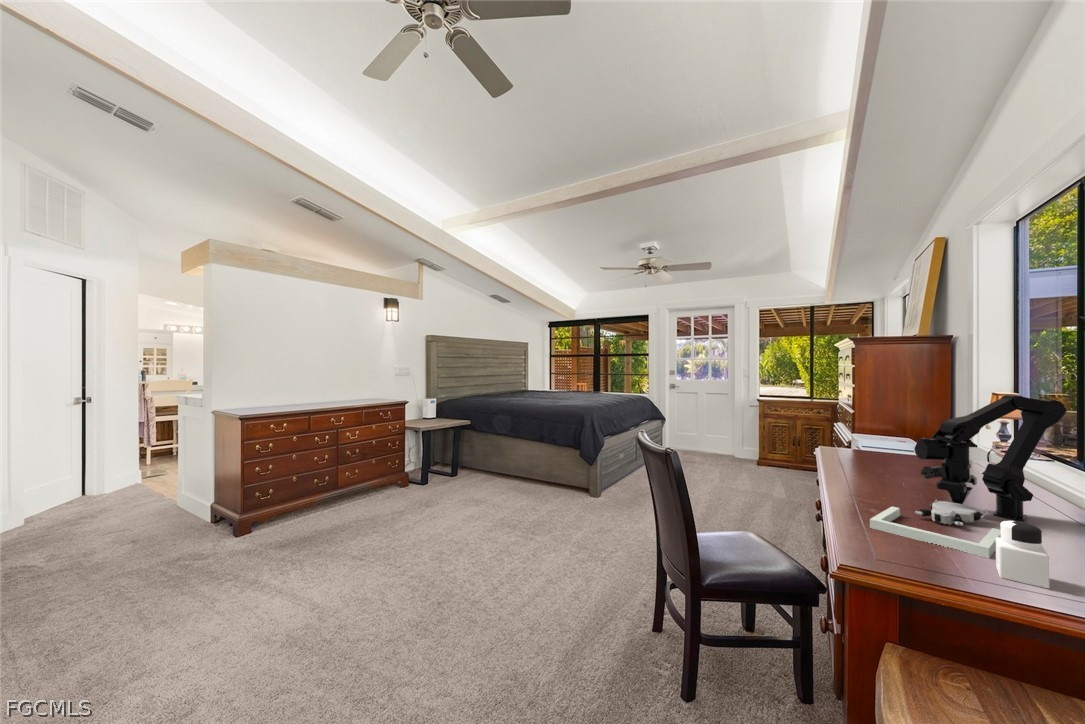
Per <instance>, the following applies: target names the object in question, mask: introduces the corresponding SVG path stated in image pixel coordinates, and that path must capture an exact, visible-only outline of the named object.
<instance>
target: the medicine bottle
mask: <svg viewBox="0 0 1085 724" xmlns="http://www.w3.org/2000/svg"><path fill="white" fill-rule="evenodd" d="M1000 530H1001V538H1000V537H996V550H995V567H996V570H997V572H998V576H999V577H1000V578H1001V579H1005V580H1009V581H1014V582H1018V583H1021V584H1022V583H1023V584H1026V585H1031V586H1034V587H1039V588H1044V589H1046V590H1047V589H1050V556H1049V554H1048V553H1047V552H1046V550H1045V548H1044V547H1043V539H1042V538H1043V537H1042V529H1041V528H1039V527H1037V526H1036V525H1034V524H1032V523H1031V524H1030V523H1027V522H1024V521H1019V520H1018V521H1017V520H1003V521H1001V522H1000Z"/></svg>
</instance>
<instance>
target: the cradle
mask: <svg viewBox="0 0 1085 724" xmlns="http://www.w3.org/2000/svg"><path fill="white" fill-rule="evenodd" d="M900 517H901V508H900V507H896V506H889V507H888V508H887V509H885V510H882V511H881V512H880V513H878V514H876V515H874V516H873V517H871V518H869V528H870V529H873V530H878V531H882V532H886V533H888V534H893V535H897V536H901V537H904V538H909V539H912V540H916V541H920V542H923V541H924V543H927V542H928V544H931V543H933V544H932V545H935V544H937V545H936V546H939V545H941V546H940V547H943V546H944V547H943V548H947V547H949V548H948V549H950V548H953V549H952V550H954V549H957V550H956V551H958V550H960V551H959V552H962V551H963V553H966V552H967V554H970V555H974V556H979V557H981V558H982V557H983V558H986V559H990V558H991V556H992V555H993V554H994V553H995V552H996V537H1000V538H1001V529H999V528H994V527H992V528H991V529H990V530H989V531H988V532H987V533H986V535H985V536H984V537H983V538H982V539H981V540H980V542H975V541H969V540H966V539H961V538H957V537H954V536H949V535H945V534H942V533H937V532H933V531H928V530H924V529H920V528H918V527H911V526H909V525H908V526H907V525H904V524H899V523H896V522H893V521H895V520H896V519H898V518H900Z"/></svg>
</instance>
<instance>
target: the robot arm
mask: <svg viewBox="0 0 1085 724" xmlns="http://www.w3.org/2000/svg"><path fill="white" fill-rule="evenodd" d="M1016 410H1017V411H1021V412H1020V415H1021V419H1022V422H1021V425H1020V427H1019V429H1018V431H1017V432H1016V435H1014V436H1013V437H1014V438H1013V439H1012V441H1011V443H1010V445H1009V446H1008V448H1007V449H1006V452H1005V453H1004V455H1003V457H1002V459H1001V460H1000V461H999V462H998V463H995V464H994V463H988V464H987V465H986V468H985V470H984V471H983V472H982V473H981V475H983V476H982V479H981V480H982V482H983V484H984V485H985V486H986V489H987V490H988V492H989V493H991V494H995V505H996V506H995V508H996V509H995V510H994V511H993V512H992V515H993V516H996V517H1003V518H1006V519H1012V520H1015V521H1017V520H1018V521H1020V522H1024V521H1025V520H1026V519H1027V517H1028V516H1027V514H1024V502H1031V501H1032V500H1033V497H1034V494H1033V493H1032V492H1031V491H1030V490H1028V488H1027V487H1025V486H1024V484H1025V473H1024V468H1025V467H1026V465H1027V463H1028V461H1029V459H1030V457H1031V456H1032V455H1033V453H1034V451H1035V449H1036V447H1037V446H1038V444H1039V442H1040V440H1041V439H1042V437H1043V435H1044V433H1045V432H1046V430H1047V429H1049V428H1051V427H1053V426H1054V425H1056V424H1058V423H1059V422H1060V421H1061V419H1062V418H1064V416H1065V415H1066V412H1067V407H1065V404H1064V403H1062V402H1061V401H1060V400H1057V399H1056V400H1055V399H1045V398H1030V397H1026V396H1023V395H1014V394H1005V395H1003V396H1001V397H1000V398H999V399H997V400H995V401H993V402H991V403H989V404H987V405H985V406H983V407H981V408H980V409H977V410H975V411H974V412H971V413H969V414H967V415H964V416H959V417H958V416H957V417H953V418H949V419H947V420H944V421H943V422H941V423H940V425H939V428H938V429H937V430H936V431H935V433H934V434H933V435H932V437H930V438H926V437H919V439H918V442H916V444H915V446H914V453H915V455H916V456H917V458H918V459H920V460H930V461H931V460H936V461H937V460H938V461H940V460H941V461H943V460H944V461H943V462H941V465H936V466H932V465H927V466H926V465H925V466H923V467H922V468H921V469H920V474H921V475H922V476H923V478H924V479H925V480H928V479H932V478H940V480H939V481H937V482H936V489H938V490H942V491H946V492H948V494H949V496H950V498H951V502H953V503H958V504H962V505H964V504H965V501H966V500H967V498H968V497H969V495H970V493H971V492H972V490H973V487H971V486H967V484H968V483H970V484H972V485H973V486H976V485H977V484H978V479H977V477H976V476H975V475H973V474H971V473H970V472H971V471H970V470H971V468H972V464H971V463H970V448H978V444H976V443H975V442H974V441H972V440H971V439H973V438H974V437H975V436H976V435H978V434H979V433H980V431H981V429H982V428H983V427H984V426H987V425H989V424H991V423H993V422H994V421H997V420H998V419H999V420H1000V418H1003V417H1005V416H1007V415H1008V414H1011V413H1013V412H1015V411H1016Z"/></svg>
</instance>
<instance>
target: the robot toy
mask: <svg viewBox="0 0 1085 724" xmlns="http://www.w3.org/2000/svg"><path fill="white" fill-rule="evenodd" d="M929 506H930V509H927V508H926V509H925V508H922V509H919V510H915V511H914V513H915V514H916V515H918V516H921V517H930V516H931V519H932V521H933V522H935V521H936V522H935V523H938V522H939V524H941V523H943V525H946V524H948V525H947V526H951V525H952V524H954V525H956V526H960V527H963V525H964V522H965V524H970V523H974V522H977V521H980V520H983V519H984V517H985V516H986V515H988V514H989V512H988V511H985V513H984V514H982V512H980V510H979V509H977V508H975V507H973V506H969V505H965V504H963V505H962V504H958V503H953V502H952V501H945V500H943V501H942V500H938V499H935V501H933V502H932V503H930V504H929Z"/></svg>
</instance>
